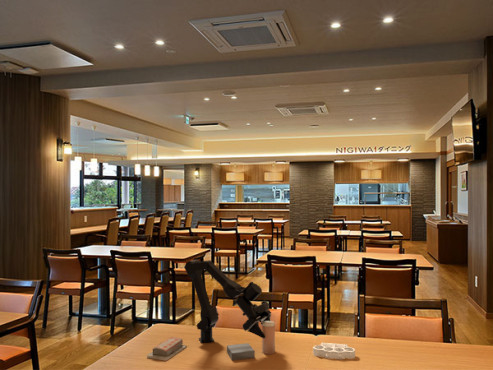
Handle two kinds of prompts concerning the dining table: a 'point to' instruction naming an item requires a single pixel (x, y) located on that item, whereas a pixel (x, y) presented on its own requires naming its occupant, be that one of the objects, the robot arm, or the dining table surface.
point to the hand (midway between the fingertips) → (269, 334)
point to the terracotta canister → (268, 337)
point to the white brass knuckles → (334, 351)
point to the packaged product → (167, 349)
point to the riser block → (240, 351)
